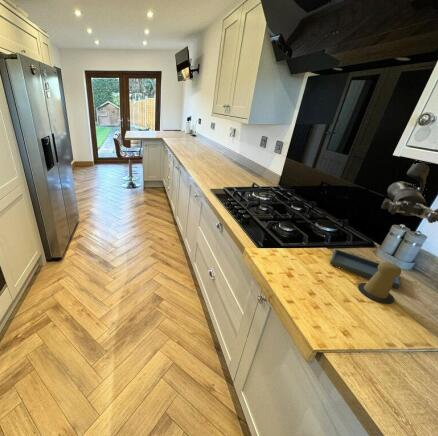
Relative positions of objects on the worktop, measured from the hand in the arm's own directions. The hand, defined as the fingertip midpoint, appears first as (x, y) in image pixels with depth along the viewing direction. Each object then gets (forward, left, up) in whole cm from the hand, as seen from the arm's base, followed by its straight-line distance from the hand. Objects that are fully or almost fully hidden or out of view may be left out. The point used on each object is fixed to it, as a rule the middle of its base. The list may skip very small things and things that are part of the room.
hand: (412, 215), depth 74 cm
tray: (+4, -3, -25) cm, 25 cm away
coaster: (0, +11, -25) cm, 27 cm away
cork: (0, +11, -25) cm, 27 cm away
